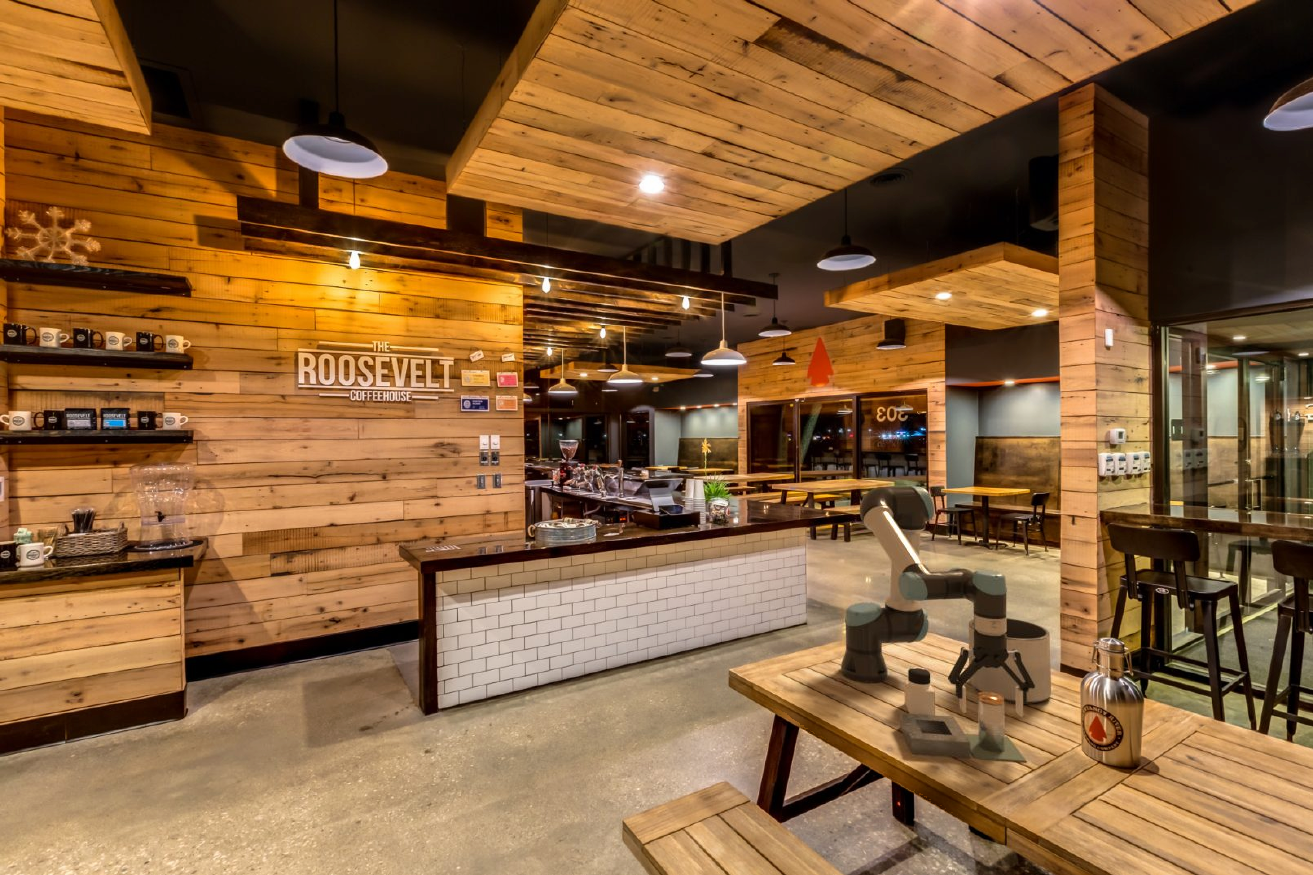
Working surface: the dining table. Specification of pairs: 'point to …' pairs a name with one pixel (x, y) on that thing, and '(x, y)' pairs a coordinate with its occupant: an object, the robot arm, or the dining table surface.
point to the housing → (934, 735)
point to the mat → (1007, 755)
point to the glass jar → (991, 722)
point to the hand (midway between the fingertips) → (991, 712)
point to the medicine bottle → (919, 692)
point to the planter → (1034, 657)
